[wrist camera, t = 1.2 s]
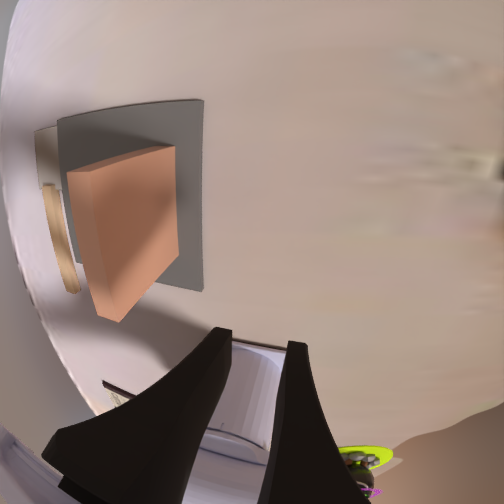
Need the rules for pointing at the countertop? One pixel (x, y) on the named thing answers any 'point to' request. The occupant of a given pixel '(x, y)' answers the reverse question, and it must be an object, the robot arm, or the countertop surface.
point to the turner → (54, 202)
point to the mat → (136, 138)
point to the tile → (125, 225)
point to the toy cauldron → (365, 464)
